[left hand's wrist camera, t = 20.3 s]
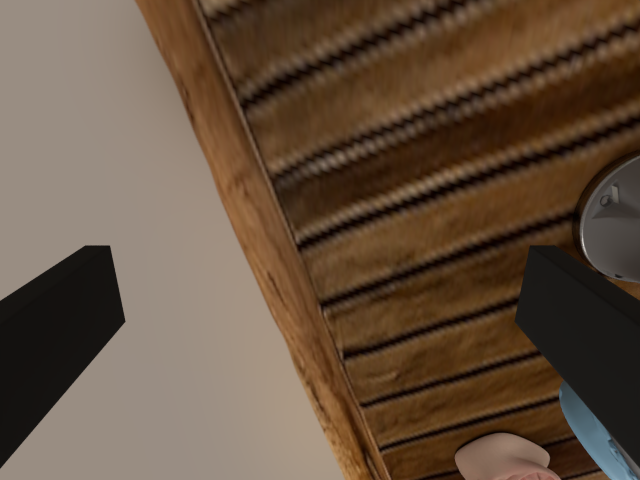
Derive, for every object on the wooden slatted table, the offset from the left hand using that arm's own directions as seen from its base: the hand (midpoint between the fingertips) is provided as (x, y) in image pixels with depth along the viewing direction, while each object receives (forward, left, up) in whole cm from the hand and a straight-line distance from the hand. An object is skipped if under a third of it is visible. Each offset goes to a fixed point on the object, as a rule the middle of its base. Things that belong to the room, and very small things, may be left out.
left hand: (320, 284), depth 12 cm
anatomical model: (-5, +53, -32) cm, 62 cm away
